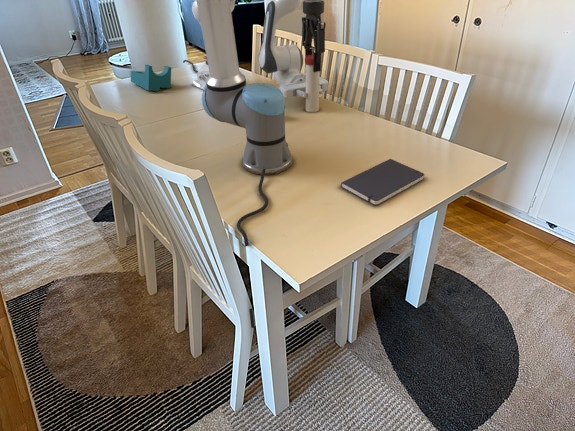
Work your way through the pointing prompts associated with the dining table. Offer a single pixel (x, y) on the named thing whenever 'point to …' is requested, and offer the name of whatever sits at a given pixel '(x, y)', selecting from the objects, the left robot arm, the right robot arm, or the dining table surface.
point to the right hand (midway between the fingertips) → (312, 69)
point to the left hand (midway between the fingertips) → (313, 93)
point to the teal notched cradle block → (152, 78)
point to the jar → (312, 89)
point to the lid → (309, 59)
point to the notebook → (382, 181)
